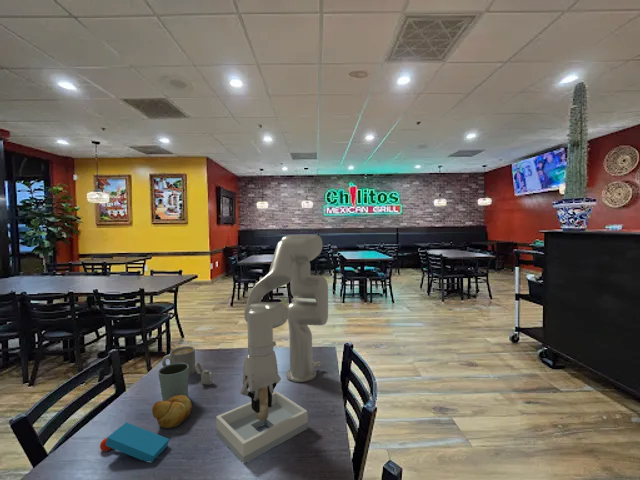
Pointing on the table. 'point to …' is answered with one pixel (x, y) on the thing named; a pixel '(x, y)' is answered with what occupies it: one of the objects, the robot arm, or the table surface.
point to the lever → (135, 442)
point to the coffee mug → (182, 357)
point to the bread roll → (172, 411)
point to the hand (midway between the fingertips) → (262, 407)
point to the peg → (263, 403)
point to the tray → (242, 424)
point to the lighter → (204, 375)
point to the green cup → (174, 380)
